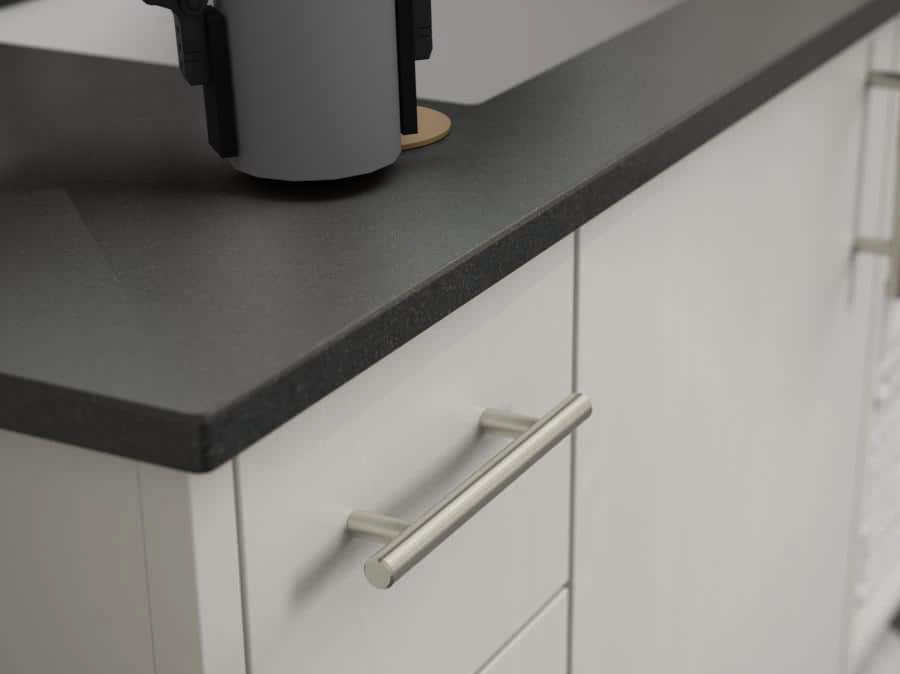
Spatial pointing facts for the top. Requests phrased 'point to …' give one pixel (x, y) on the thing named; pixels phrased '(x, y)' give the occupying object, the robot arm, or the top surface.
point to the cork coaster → (427, 128)
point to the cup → (313, 86)
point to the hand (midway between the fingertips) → (313, 138)
